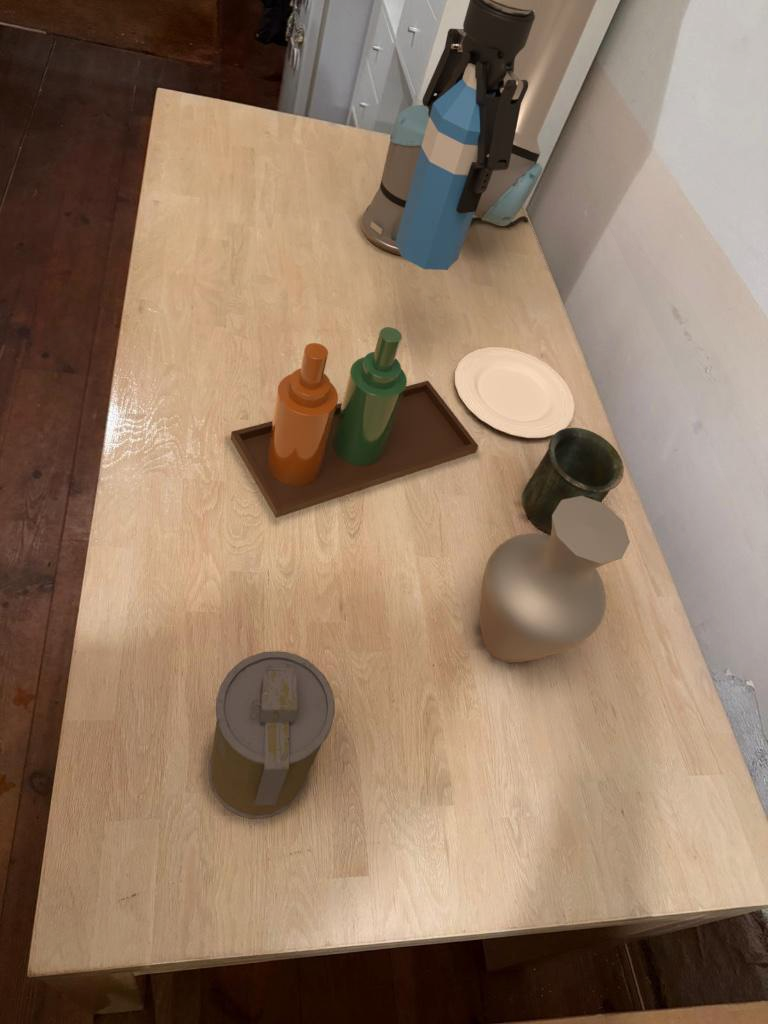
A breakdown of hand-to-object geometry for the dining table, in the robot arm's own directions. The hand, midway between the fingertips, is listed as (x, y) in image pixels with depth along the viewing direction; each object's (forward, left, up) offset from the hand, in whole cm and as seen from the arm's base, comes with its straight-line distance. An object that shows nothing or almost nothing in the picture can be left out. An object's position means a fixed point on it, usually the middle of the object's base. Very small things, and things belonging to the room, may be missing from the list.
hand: (446, 189), depth 100 cm
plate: (-15, +14, -30) cm, 37 cm away
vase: (+13, +50, -30) cm, 60 cm away
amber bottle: (+26, +15, -29) cm, 42 cm away
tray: (+16, +15, -30) cm, 37 cm away
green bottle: (+16, +15, -29) cm, 37 cm away
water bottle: (0, 0, -10) cm, 10 cm away
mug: (-6, +37, -30) cm, 48 cm away
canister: (+48, +51, -30) cm, 77 cm away
